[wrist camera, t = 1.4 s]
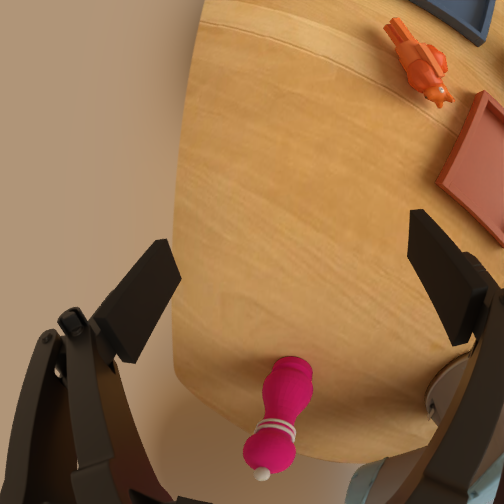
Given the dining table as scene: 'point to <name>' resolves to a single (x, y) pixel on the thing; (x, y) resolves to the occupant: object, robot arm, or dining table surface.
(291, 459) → the pepper mill
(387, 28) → the orange toy bird
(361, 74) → the dining table surface
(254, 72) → the dining table surface
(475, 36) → the blue tray
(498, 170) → the terracotta tray
